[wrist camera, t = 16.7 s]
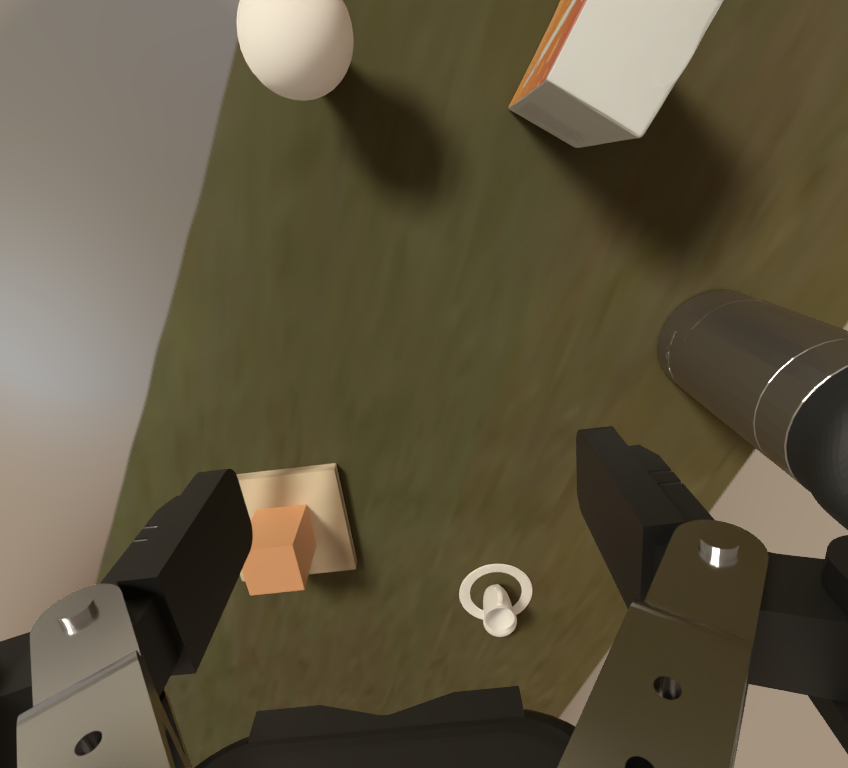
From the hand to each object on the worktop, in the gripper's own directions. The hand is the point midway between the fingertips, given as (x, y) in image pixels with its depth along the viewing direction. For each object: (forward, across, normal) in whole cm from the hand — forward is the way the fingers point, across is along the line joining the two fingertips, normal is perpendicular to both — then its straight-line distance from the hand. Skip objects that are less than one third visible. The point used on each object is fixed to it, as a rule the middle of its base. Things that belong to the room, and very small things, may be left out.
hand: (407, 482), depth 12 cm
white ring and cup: (+34, -2, +38) cm, 51 cm away
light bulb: (+33, +5, -15) cm, 37 cm away
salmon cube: (+32, +16, +24) cm, 43 cm away
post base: (+33, +16, +24) cm, 44 cm away
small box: (+33, -13, -12) cm, 38 cm away
